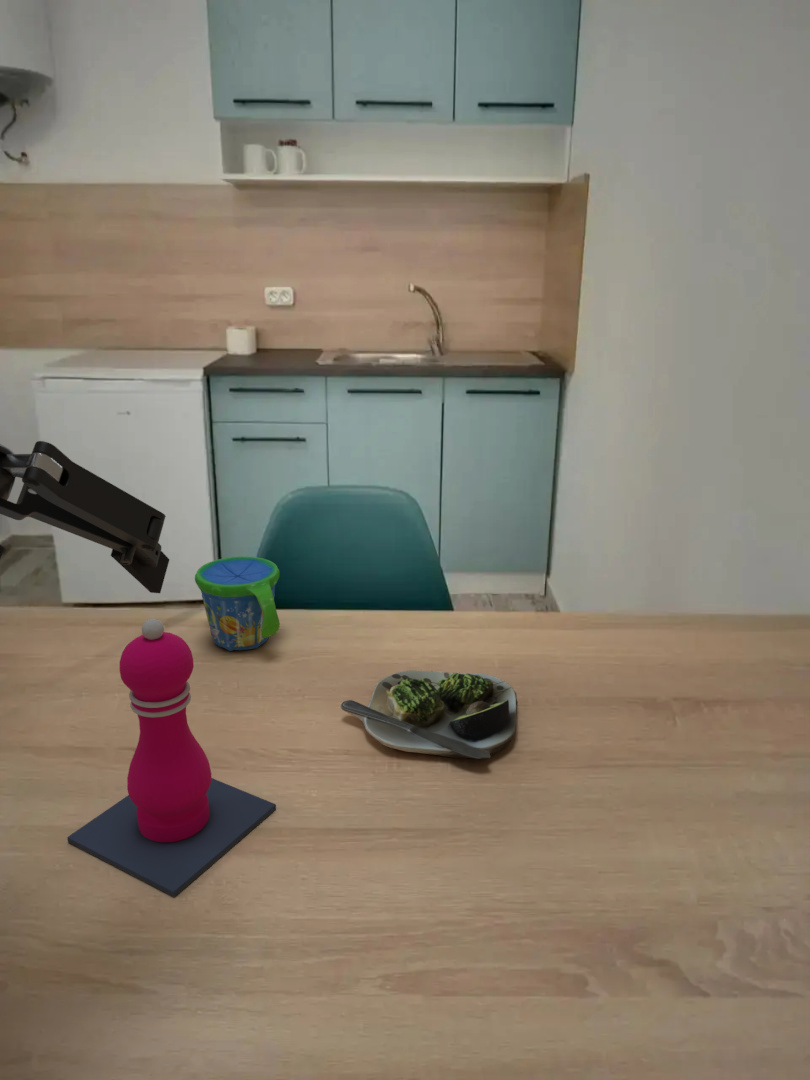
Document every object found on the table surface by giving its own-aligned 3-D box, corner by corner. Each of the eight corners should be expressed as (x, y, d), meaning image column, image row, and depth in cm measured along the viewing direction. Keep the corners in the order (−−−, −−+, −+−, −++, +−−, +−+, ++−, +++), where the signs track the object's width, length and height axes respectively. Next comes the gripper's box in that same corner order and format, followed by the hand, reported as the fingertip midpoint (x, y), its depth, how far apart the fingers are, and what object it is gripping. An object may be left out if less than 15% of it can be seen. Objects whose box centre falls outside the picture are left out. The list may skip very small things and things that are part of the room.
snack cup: (304, 652, 108) (301, 579, 104) (229, 674, 102) (223, 598, 99) (253, 611, 120) (249, 545, 117) (183, 629, 114) (176, 560, 111)
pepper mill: (132, 854, 71) (103, 644, 64) (133, 803, 78) (107, 607, 71) (218, 838, 73) (199, 632, 66) (212, 789, 79) (194, 598, 73)
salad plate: (324, 760, 85) (322, 720, 83) (359, 676, 102) (358, 642, 100) (514, 776, 82) (516, 736, 81) (518, 687, 99) (519, 653, 97)
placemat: (67, 842, 73) (66, 837, 73) (175, 767, 84) (175, 762, 84) (174, 897, 67) (173, 891, 67) (276, 809, 78) (276, 803, 77)
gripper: (-358, 457, 44) (-90, 603, 63) (74, 481, 39) (221, 630, 58) (-290, 343, 47) (-54, 515, 66) (118, 353, 42) (244, 534, 61)
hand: (75, 569), depth 62 cm, fingers open, 13 cm apart
